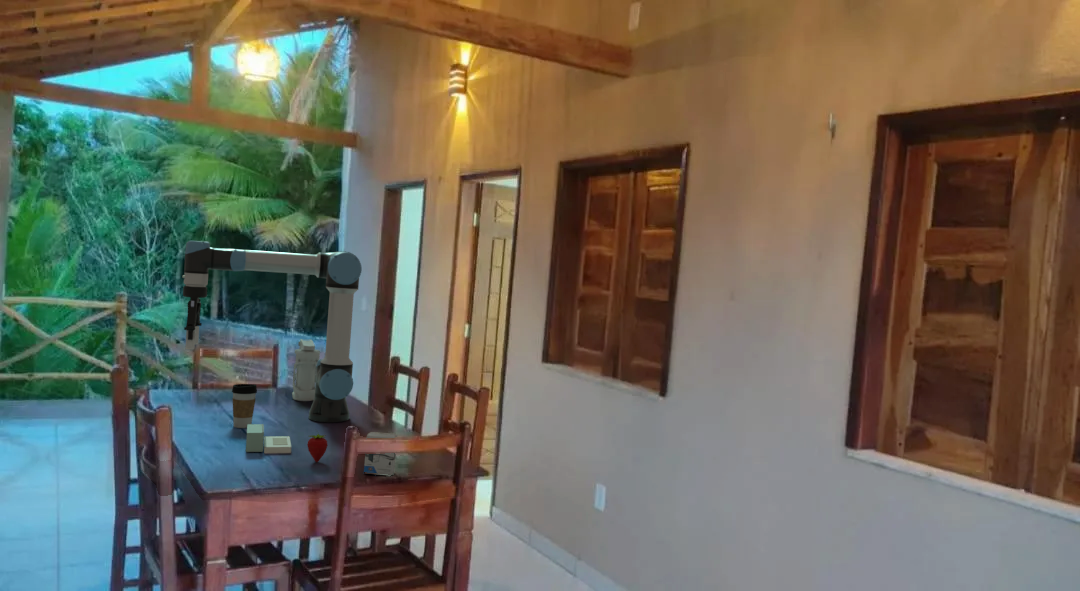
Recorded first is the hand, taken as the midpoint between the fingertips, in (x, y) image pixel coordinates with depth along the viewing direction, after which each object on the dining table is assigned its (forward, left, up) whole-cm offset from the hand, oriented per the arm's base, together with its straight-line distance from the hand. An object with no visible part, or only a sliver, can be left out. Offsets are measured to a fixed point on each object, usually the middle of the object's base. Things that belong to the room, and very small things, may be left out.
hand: (192, 346), depth 264 cm
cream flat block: (-29, +30, -28) cm, 50 cm away
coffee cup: (-18, -1, -28) cm, 33 cm away
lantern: (-42, -55, -28) cm, 74 cm away
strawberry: (-40, +48, -28) cm, 69 cm away
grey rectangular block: (-22, +30, -28) cm, 47 cm away
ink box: (-57, +62, -28) cm, 89 cm away
